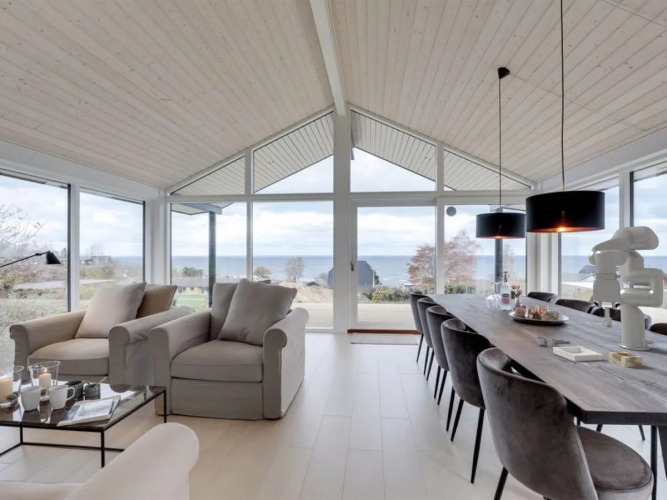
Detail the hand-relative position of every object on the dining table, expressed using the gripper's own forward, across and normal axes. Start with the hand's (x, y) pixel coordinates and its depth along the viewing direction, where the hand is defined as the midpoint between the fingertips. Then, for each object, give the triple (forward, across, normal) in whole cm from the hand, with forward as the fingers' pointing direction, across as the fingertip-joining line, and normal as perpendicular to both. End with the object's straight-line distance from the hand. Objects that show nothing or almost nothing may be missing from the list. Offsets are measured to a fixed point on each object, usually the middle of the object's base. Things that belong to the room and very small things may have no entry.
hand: (607, 316), depth 157 cm
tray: (+21, +12, -1) cm, 24 cm away
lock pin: (+5, 0, 0) cm, 5 cm away
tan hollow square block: (+21, -6, 0) cm, 22 cm away
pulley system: (+22, +25, -22) cm, 40 cm away
